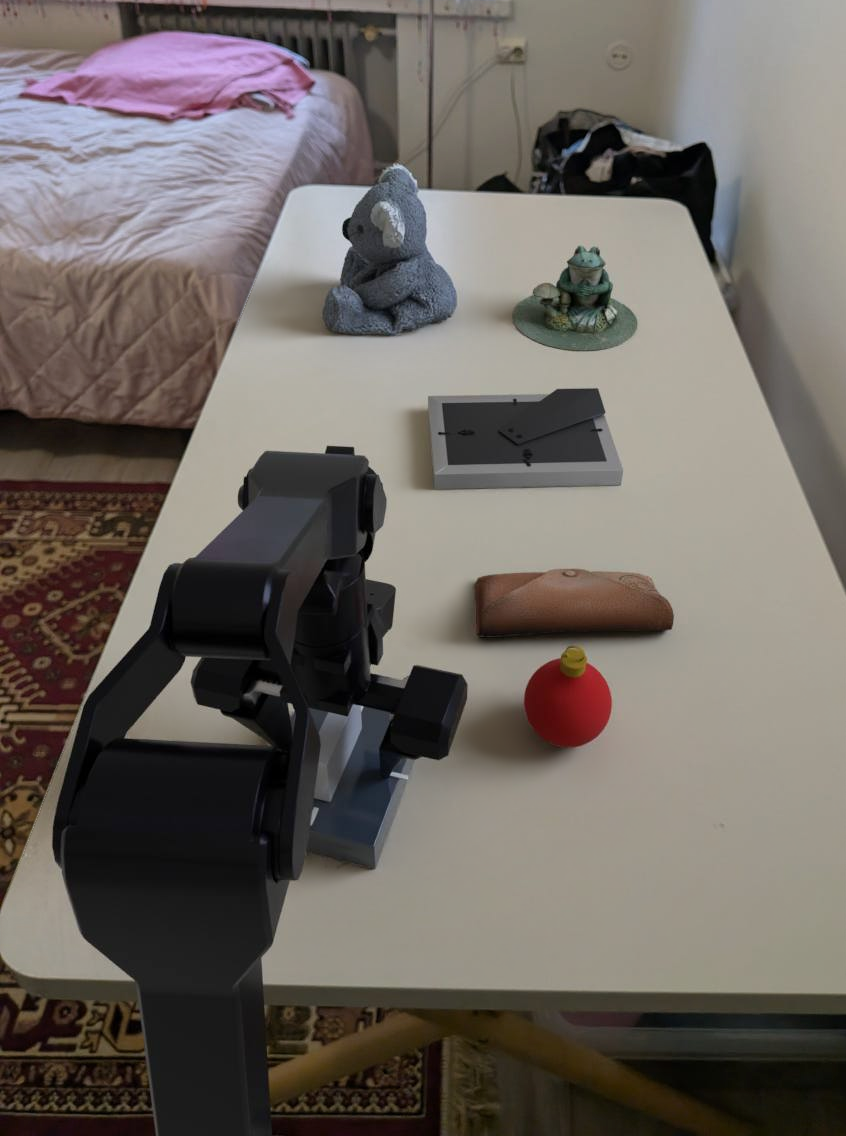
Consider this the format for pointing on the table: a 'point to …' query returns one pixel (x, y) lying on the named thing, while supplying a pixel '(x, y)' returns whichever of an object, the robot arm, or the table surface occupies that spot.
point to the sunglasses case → (568, 603)
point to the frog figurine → (576, 308)
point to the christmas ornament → (568, 700)
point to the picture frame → (522, 441)
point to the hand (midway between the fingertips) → (336, 761)
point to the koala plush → (389, 265)
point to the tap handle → (336, 750)
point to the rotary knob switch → (358, 798)
